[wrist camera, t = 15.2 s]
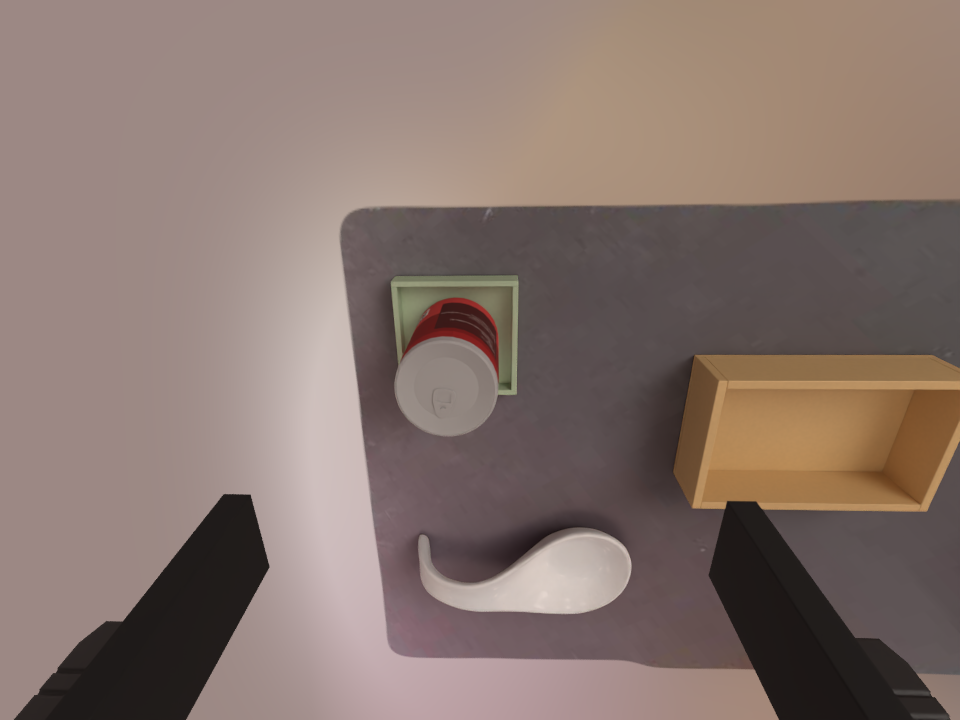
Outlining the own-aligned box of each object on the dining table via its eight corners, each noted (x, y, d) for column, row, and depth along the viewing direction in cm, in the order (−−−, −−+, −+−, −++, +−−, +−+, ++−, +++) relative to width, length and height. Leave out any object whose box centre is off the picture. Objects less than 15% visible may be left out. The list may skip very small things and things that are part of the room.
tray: (395, 276, 43) (390, 281, 41) (517, 275, 42) (518, 280, 41) (404, 385, 47) (401, 394, 46) (515, 385, 47) (516, 395, 45)
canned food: (425, 378, 46) (405, 442, 36) (408, 300, 43) (381, 346, 33) (504, 369, 46) (505, 432, 36) (492, 289, 43) (490, 333, 33)
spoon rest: (629, 509, 53) (647, 560, 46) (619, 586, 57) (635, 642, 51) (416, 508, 54) (404, 558, 47) (424, 584, 59) (414, 639, 52)
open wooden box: (672, 472, 50) (691, 508, 45) (694, 354, 45) (718, 380, 40) (883, 474, 50) (927, 511, 45) (932, 354, 44) (987, 381, 39)
